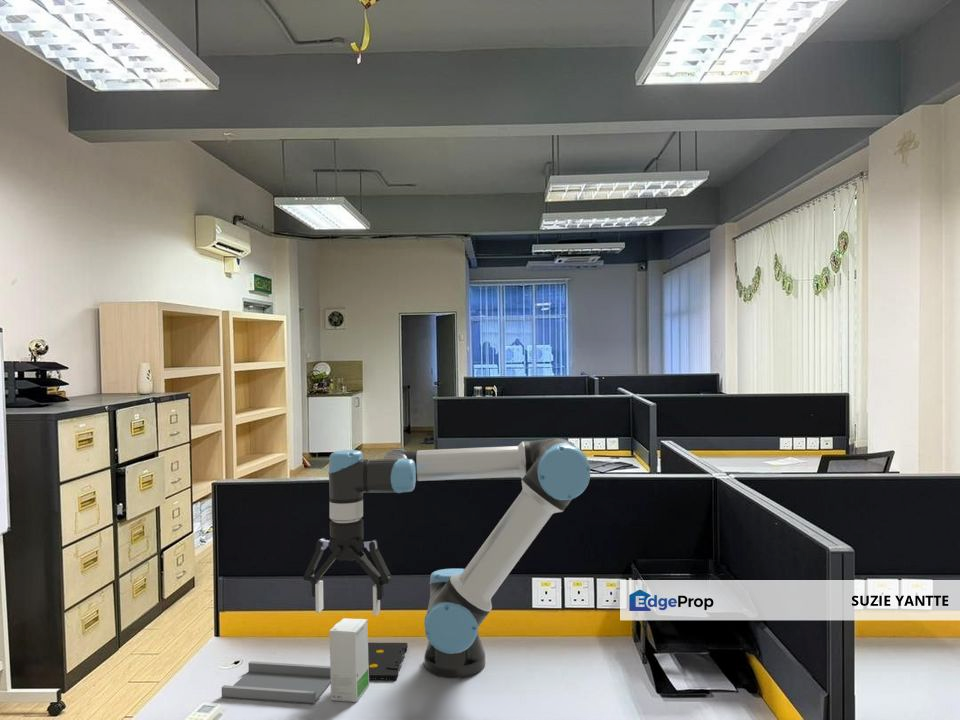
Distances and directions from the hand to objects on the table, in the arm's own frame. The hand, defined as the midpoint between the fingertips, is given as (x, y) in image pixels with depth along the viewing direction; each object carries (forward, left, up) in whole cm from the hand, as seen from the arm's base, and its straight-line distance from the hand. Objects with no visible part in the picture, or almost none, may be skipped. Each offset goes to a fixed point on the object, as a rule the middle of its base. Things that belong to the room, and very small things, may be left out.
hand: (348, 612), depth 151 cm
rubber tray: (+17, -1, -18) cm, 25 cm away
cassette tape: (-2, -15, -19) cm, 24 cm away
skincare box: (0, 0, -18) cm, 19 cm away
